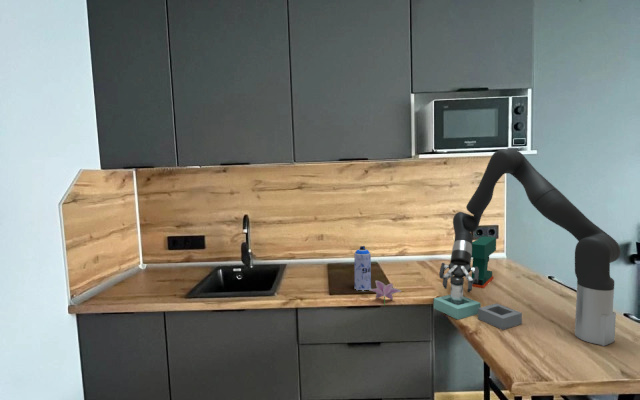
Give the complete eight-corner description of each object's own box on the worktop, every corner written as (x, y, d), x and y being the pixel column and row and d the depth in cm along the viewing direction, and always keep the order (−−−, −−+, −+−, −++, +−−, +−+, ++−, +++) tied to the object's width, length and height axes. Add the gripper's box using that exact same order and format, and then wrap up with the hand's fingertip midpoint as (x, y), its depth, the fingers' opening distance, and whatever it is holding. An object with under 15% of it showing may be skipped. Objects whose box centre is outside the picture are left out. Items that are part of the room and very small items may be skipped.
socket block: (521, 323, 122) (522, 312, 122) (502, 329, 118) (503, 318, 118) (496, 313, 131) (496, 303, 131) (477, 318, 127) (478, 308, 126)
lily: (405, 306, 142) (403, 282, 146) (390, 303, 134) (388, 278, 138) (380, 308, 150) (379, 286, 154) (365, 305, 142) (363, 282, 146)
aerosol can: (360, 292, 156) (360, 248, 155) (351, 287, 163) (350, 245, 162) (374, 289, 160) (374, 246, 158) (364, 284, 167) (364, 243, 165)
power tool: (485, 269, 187) (486, 233, 186) (499, 271, 183) (500, 234, 181) (467, 285, 163) (468, 243, 161) (483, 288, 158) (484, 245, 157)
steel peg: (466, 311, 134) (466, 278, 132) (456, 314, 131) (457, 280, 130) (456, 307, 138) (456, 275, 137) (447, 309, 136) (447, 277, 135)
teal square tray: (480, 313, 132) (480, 303, 131) (457, 319, 127) (457, 309, 126) (455, 302, 142) (455, 293, 142) (433, 308, 137) (433, 298, 137)
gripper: (442, 247, 143) (436, 282, 134) (480, 250, 136) (476, 287, 127) (444, 256, 148) (438, 291, 139) (481, 260, 141) (477, 297, 132)
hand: (456, 289), depth 133 cm, fingers open, 8 cm apart
